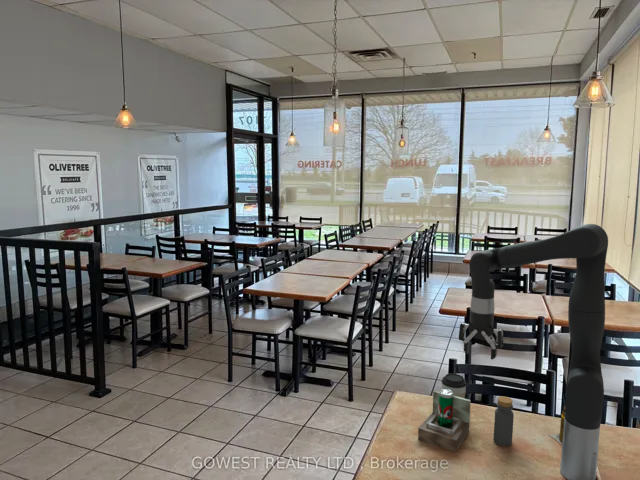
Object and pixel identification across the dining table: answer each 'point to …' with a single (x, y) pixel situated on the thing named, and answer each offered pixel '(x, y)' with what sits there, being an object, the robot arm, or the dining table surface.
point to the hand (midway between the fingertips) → (479, 355)
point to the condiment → (556, 436)
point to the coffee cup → (454, 384)
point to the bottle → (503, 421)
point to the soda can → (445, 408)
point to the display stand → (447, 436)
